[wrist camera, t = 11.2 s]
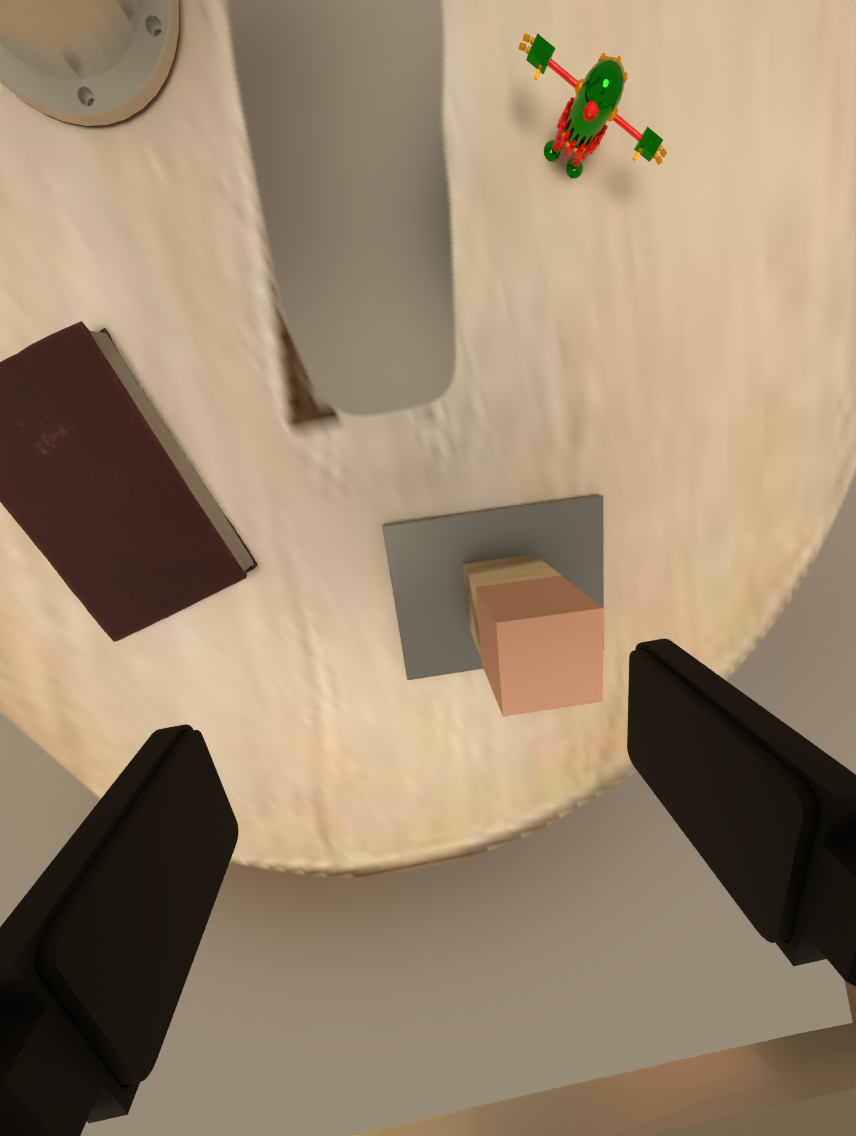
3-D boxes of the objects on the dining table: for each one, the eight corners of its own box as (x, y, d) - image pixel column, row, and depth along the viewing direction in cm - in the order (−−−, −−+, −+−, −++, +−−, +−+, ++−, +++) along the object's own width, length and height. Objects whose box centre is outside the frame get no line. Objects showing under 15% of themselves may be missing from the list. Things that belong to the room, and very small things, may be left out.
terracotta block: (475, 587, 28) (496, 623, 22) (560, 575, 28) (603, 607, 22) (482, 664, 29) (502, 716, 24) (562, 652, 30) (602, 701, 24)
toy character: (594, 280, 30) (649, 233, 23) (453, 177, 27) (471, 94, 21) (685, 118, 27) (773, 16, 21) (539, -10, 25) (588, -169, 19)
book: (132, 629, 34) (107, 647, 31) (-40, 410, 29) (-92, 405, 26) (262, 565, 34) (248, 577, 31) (111, 329, 28) (76, 314, 25)
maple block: (462, 564, 33) (476, 587, 28) (533, 553, 34) (561, 575, 28) (469, 629, 35) (483, 664, 29) (536, 619, 35) (564, 652, 30)
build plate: (383, 524, 33) (382, 526, 32) (597, 494, 34) (603, 495, 33) (407, 674, 37) (407, 680, 36) (598, 644, 38) (603, 649, 37)
